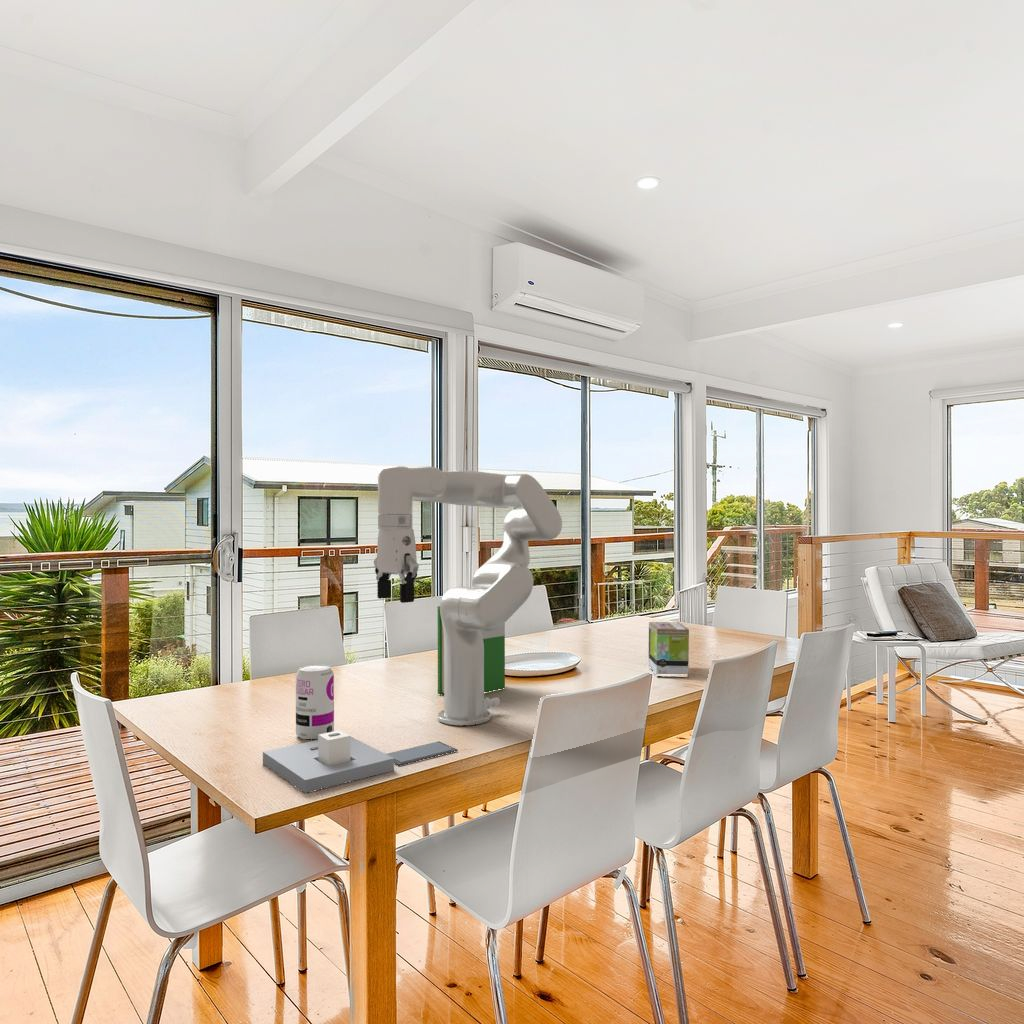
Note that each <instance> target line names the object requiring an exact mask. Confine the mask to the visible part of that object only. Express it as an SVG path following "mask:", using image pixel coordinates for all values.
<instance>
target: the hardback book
mask: <svg viewBox="0 0 1024 1024" xmlns="http://www.w3.org/2000/svg"><path fill="white" fill-rule="evenodd" d="M505 624H506V622H505V623H504V624H503V625H502V626H500V627H499V628H497V629H495V630H491V631H485V630H480V632H481V634H482V638H483V643H484V692H489V691H493V690H498V689H503V688H505V689H506V685H505V684H506V670H505V669H506V639H505V637H506V635H505V634H506V631H505V630H506V629H505V628H506V626H505ZM438 694H444V632H443V625H442V620H441V615H440V605H439V606H437V695H438Z"/></svg>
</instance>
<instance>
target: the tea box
mask: <svg viewBox="0 0 1024 1024" xmlns="http://www.w3.org/2000/svg"><path fill="white" fill-rule="evenodd" d="M689 651H690V629H689V628H688V627H686V626H685V625H683V624H682V623H680V622H679V621H678V622H676V621H649V622H648V659H647V660H648V667H649V666H650V667H651V669H652V670H653V671H654V672H655V673H656V675H657V674H688V675H689V669H690V668H689V659H690V658H689ZM651 669H650V670H651ZM652 670H651V671H652ZM653 671H652V672H653ZM656 675H655V676H656Z"/></svg>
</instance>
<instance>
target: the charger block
mask: <svg viewBox="0 0 1024 1024" xmlns="http://www.w3.org/2000/svg"><path fill="white" fill-rule="evenodd" d="M350 736H351V735H350V734H348V733H346V732H345V731H342V730H334V731H333V732H329V733H324V734H319V735H318V739H317V740H318V762H320V763H322V764H323V765H325V766H331V765H335V764H340V763H344V762H348V761H350Z"/></svg>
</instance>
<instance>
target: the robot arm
mask: <svg viewBox="0 0 1024 1024" xmlns="http://www.w3.org/2000/svg"><path fill="white" fill-rule="evenodd" d="M413 502H425V503H439V504H448V505H456V506H468V507H469V506H470V507H471V506H472V507H485V508H486V507H487V508H494V509H495V508H496V509H511V510H510V511H508V513H507V514H506V515H505V517H504V519H503V524H502V525H503V526H502V527H503V528H502V529H503V538H502V539H503V541H502V545H501V546H500V548H498V550H497V551H496V552H495V553H494V554H493V555H492V556H491V557H490V558H489V559H487V560H486V562H484V563H483V564H482V565H481V566H479V568H478V569H477V570H476V571H475V573H474V574H473V577H472V579H471V587H470V586H455V587H451V588H449V589H448V590H447V591H446V592H444V594H443V595H442V597H441V599H440V604H439V606H440V615H441V620H442V625H443V632H444V695H443V696H444V697H443V699H444V702H443V703H444V704H443V705H444V707H443V708H444V709H442V710H441V711H440V712H439V713H437V720H438V721H439V722H441V723H443V724H445V725H450V726H459V727H460V726H461V727H462V726H463V725H466V726H475V724H476V725H480V724H484V723H486V722H488V721H489V720H490V719H491V712H490V711H489V710H488V709H490V708H491V707H496V706H499V705H500V704H501V700H500V698H499V697H493V698H489V697H485V694H484V643H483V638H482V634H481V632H480V630H485V631H491V630H495V629H497V628H499V627H500V626H502V625H503V624H504V623H505V624H506V622H507V621H508V620H509V619H510V618H511V617H512V616H513V615H514V614H515V613H516V612H517V611H518V610H519V609H520V608H521V607H522V606H523V605H524V604H525V603H526V601H527V600H528V599H529V597H530V596H531V594H532V591H533V588H534V575H533V573H532V571H531V570H530V568H529V565H530V561H531V558H530V557H531V555H530V554H531V553H530V546H529V541H543V542H544V541H546V542H547V541H553V540H554V539H556V538H557V537H558V536H559V535H560V534H561V532H562V529H563V520H562V516H561V514H560V511H559V510H558V508H557V507H556V505H555V504H554V502H553V500H552V499H551V498H550V496H549V495H548V493H547V492H546V491H545V489H544V487H543V485H541V484H540V482H539V481H538V480H537V479H536V478H535V477H533V476H532V475H530V474H527V473H516V474H502V473H501V474H500V473H492V472H485V471H484V472H483V471H476V470H470V469H469V470H467V469H466V470H464V469H463V470H461V469H460V470H451V471H442V470H441V469H440V468H437V467H435V466H416V467H407V466H401V465H400V466H399V465H396V466H395V465H393V466H391V465H389V466H387V465H386V466H382V467H380V468H379V469H378V472H377V525H378V526H377V529H378V533H377V542H376V545H377V547H376V558H375V559H374V560H373V565H374V569H375V570H374V573H375V574H376V577H375V579H376V581H377V589H376V590H377V599H380V600H381V599H390V598H391V597H392V580H391V579H390V578H391V575H397V576H399V579H400V581H401V583H400V584H399V602H400V603H403V604H405V603H413V602H414V601H415V584H416V583H417V581H416V579H417V577H418V570H419V568H420V567H419V566H420V565H419V563H418V561H417V559H418V558H417V546H416V545H417V544H416V537H415V532H414V528H413Z"/></svg>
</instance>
